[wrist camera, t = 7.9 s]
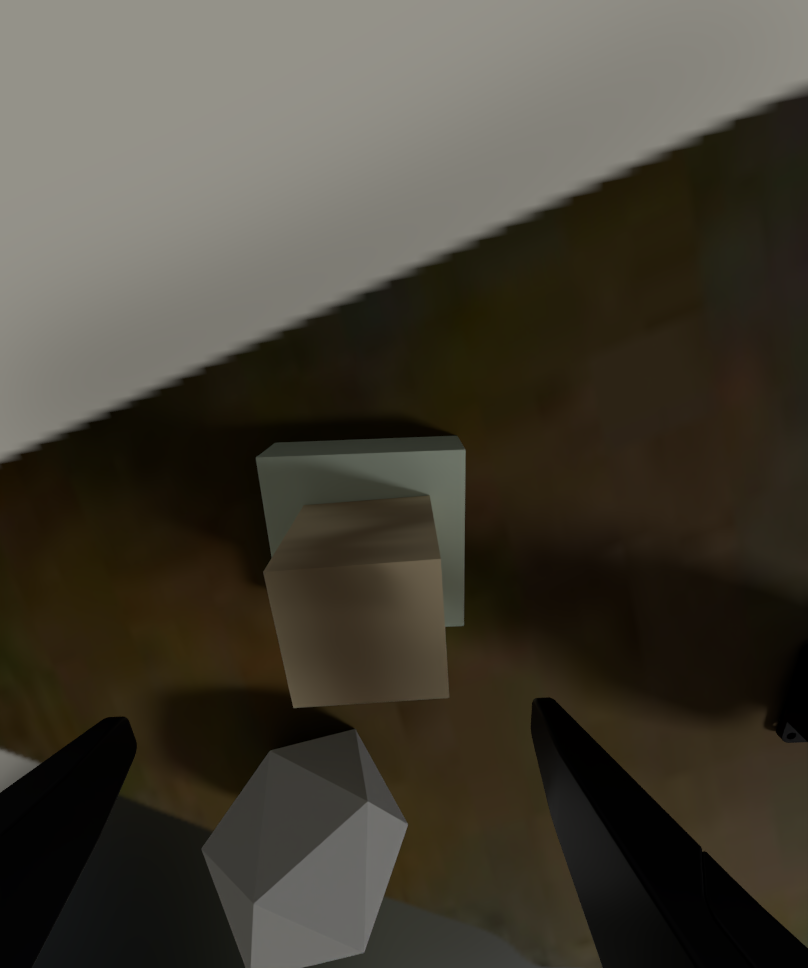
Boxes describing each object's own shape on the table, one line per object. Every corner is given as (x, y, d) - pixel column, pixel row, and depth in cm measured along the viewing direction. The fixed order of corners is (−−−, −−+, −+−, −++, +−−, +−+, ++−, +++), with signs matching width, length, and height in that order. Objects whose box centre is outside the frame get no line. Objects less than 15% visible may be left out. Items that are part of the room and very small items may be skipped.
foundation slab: (455, 433, 18) (465, 449, 16) (455, 587, 21) (463, 625, 18) (278, 440, 19) (255, 457, 16) (299, 593, 21) (283, 632, 18)
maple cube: (429, 495, 16) (440, 558, 11) (437, 603, 18) (449, 697, 13) (303, 505, 16) (262, 571, 12) (322, 611, 18) (293, 708, 13)
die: (259, 677, 23) (118, 915, 17) (395, 729, 19) (267, 1078, 13) (329, 728, 28) (240, 924, 22) (447, 778, 24) (376, 1042, 18)
